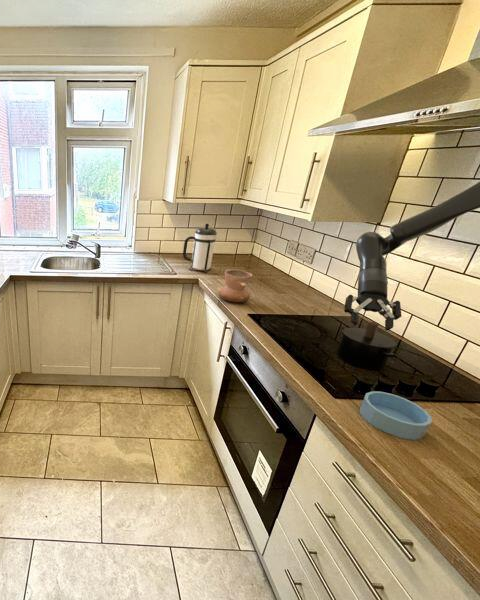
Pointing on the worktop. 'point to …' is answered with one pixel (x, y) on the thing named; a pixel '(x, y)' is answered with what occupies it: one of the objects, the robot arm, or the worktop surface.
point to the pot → (363, 355)
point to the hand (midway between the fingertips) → (371, 326)
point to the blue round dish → (395, 415)
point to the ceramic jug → (235, 286)
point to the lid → (369, 337)
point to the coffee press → (201, 248)
